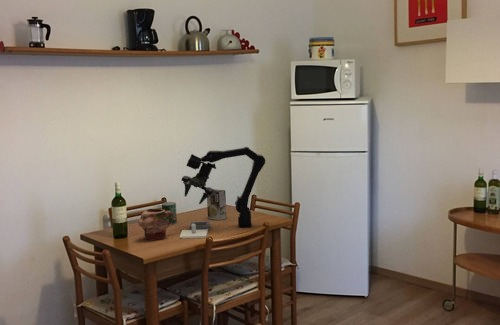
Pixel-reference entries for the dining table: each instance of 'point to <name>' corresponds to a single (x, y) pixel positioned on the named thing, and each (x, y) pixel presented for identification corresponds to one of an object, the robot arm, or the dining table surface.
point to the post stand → (194, 233)
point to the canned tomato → (172, 208)
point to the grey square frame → (201, 225)
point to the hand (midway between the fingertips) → (192, 200)
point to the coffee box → (217, 205)
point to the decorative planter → (155, 223)
